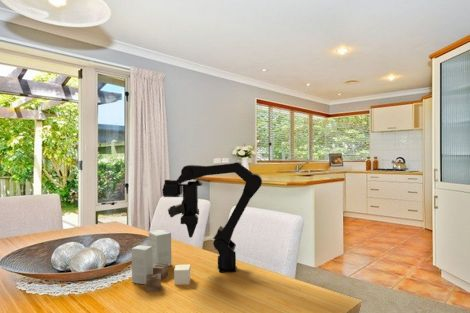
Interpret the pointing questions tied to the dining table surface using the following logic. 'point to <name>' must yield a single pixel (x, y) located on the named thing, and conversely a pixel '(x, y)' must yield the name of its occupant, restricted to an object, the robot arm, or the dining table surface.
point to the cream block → (181, 274)
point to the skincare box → (141, 263)
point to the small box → (160, 246)
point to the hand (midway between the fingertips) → (190, 237)
